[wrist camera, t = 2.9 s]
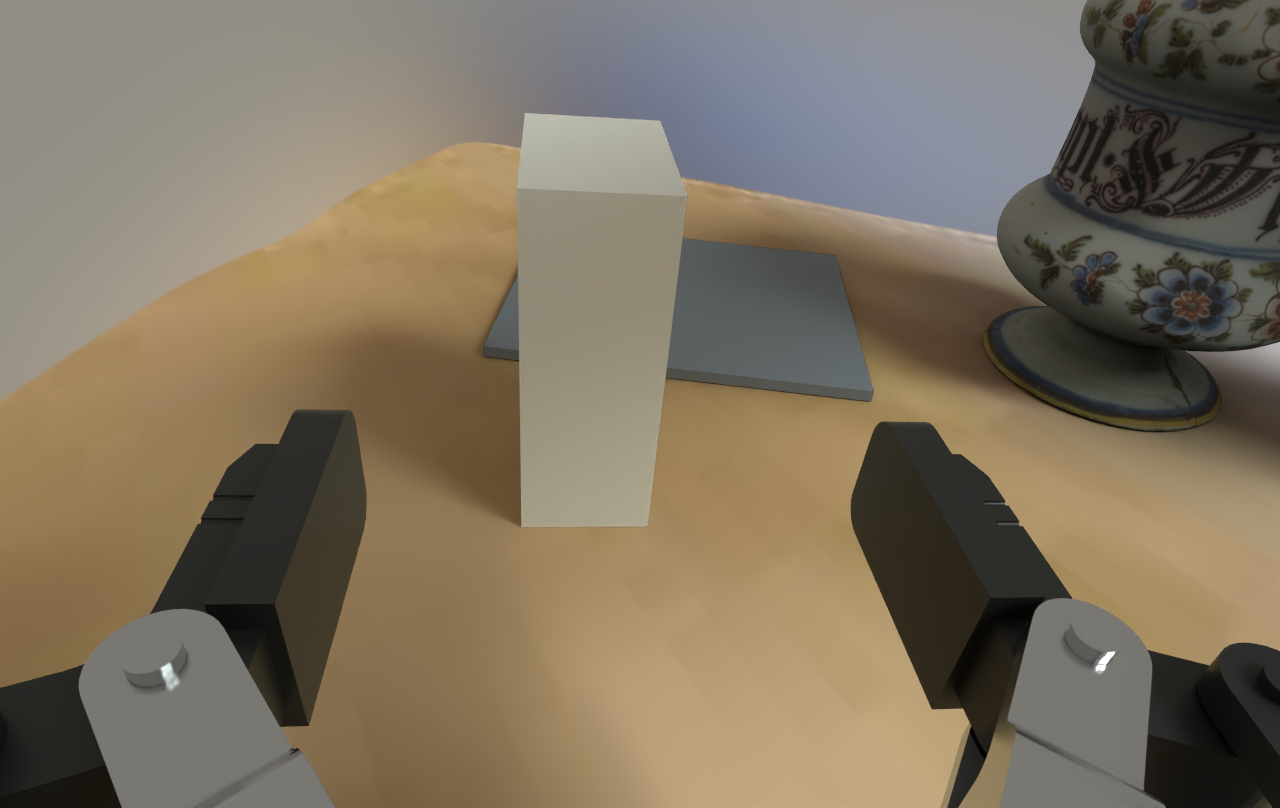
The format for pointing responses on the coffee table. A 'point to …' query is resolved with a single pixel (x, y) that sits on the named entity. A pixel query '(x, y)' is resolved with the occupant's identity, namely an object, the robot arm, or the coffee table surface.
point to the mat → (749, 322)
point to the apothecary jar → (1152, 217)
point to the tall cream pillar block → (594, 314)
